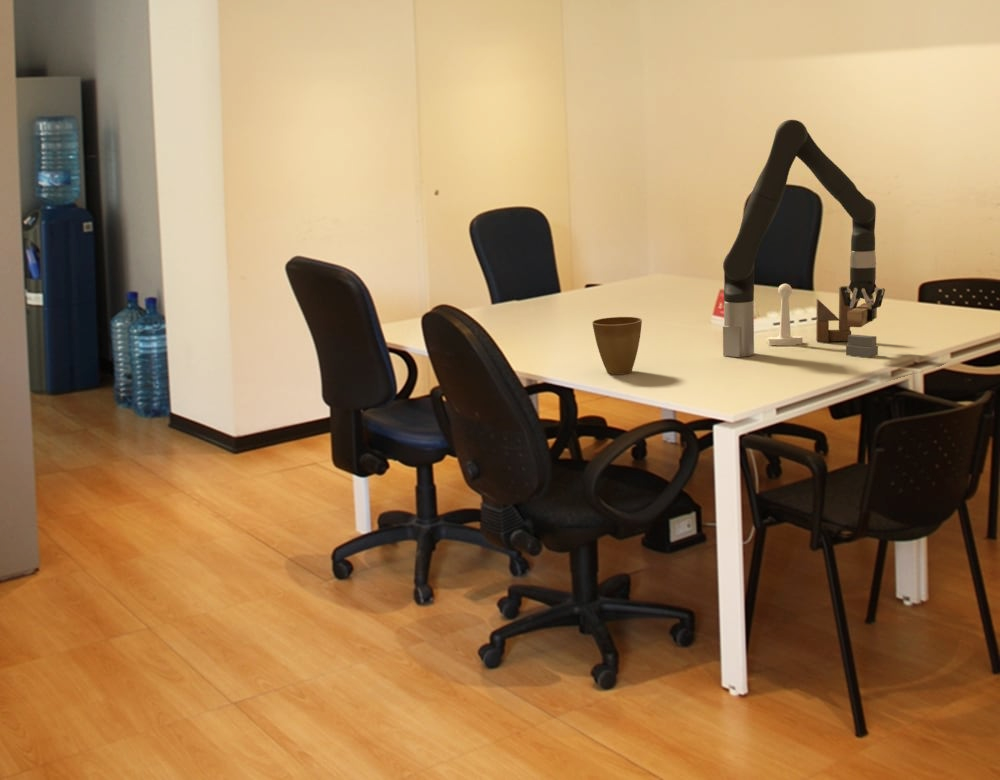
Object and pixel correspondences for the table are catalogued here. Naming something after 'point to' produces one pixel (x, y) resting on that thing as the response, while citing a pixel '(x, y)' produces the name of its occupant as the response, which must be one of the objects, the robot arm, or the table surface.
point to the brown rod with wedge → (826, 315)
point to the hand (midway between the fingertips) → (862, 320)
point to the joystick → (784, 321)
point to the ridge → (862, 346)
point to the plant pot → (618, 342)
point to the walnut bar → (859, 316)
